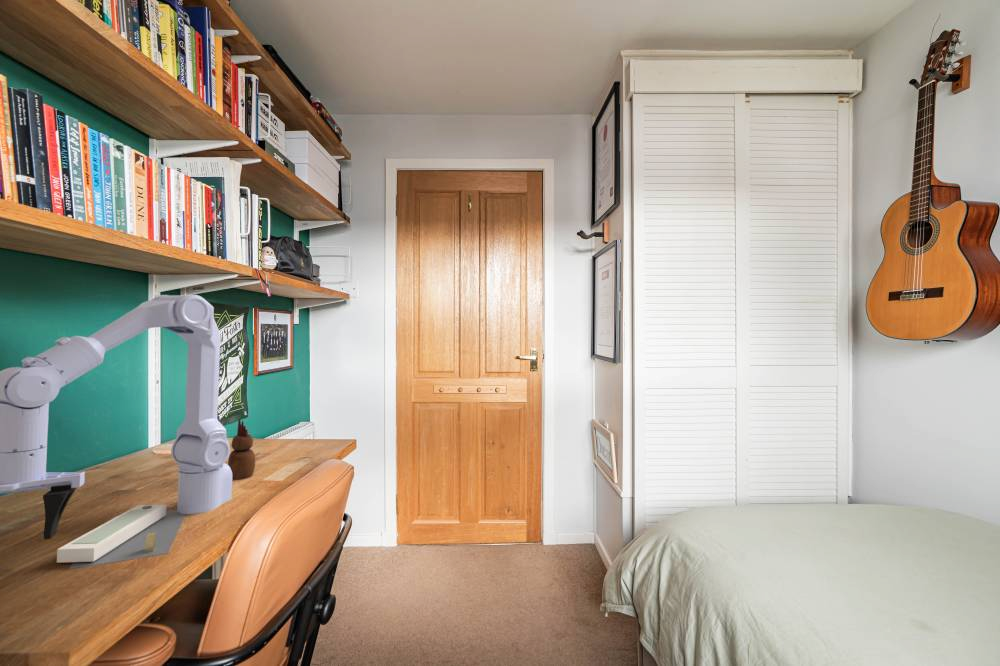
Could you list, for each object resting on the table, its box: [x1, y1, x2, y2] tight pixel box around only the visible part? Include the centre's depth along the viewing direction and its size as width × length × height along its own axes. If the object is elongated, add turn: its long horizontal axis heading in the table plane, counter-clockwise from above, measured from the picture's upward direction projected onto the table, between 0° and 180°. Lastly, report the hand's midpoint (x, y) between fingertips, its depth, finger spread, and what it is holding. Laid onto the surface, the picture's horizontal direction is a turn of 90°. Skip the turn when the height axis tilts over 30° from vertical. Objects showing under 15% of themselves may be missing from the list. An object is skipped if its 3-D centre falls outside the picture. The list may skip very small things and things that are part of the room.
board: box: [68, 508, 187, 570], centre depth 78 cm, size 21×12×4 cm, turn 27°
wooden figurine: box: [227, 418, 256, 480], centre depth 112 cm, size 7×6×15 cm
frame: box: [56, 504, 167, 564], centre depth 77 cm, size 18×5×2 cm, turn 7°
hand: (15, 541), depth 66 cm, fingers open, 7 cm apart
